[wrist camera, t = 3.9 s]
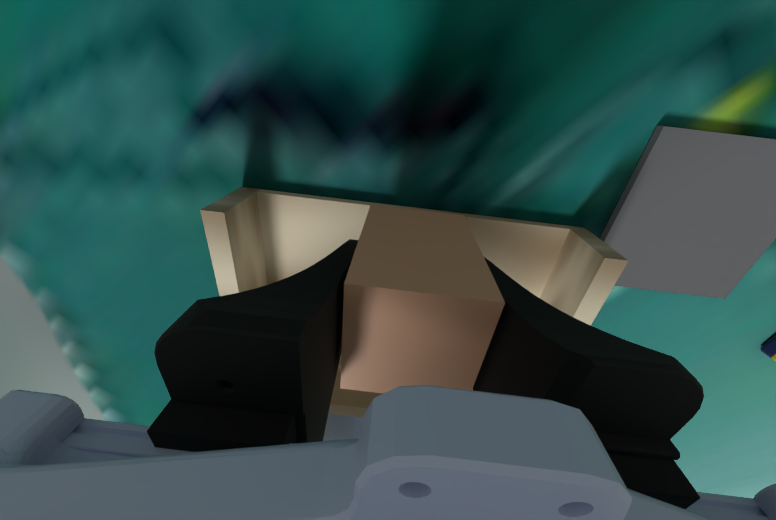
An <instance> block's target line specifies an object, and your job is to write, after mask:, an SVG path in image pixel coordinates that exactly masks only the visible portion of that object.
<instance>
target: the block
mask: <svg viewBox="0 0 776 520" xmlns="http://www.w3.org/2000/svg"><path fill="white" fill-rule="evenodd" d="M504 305H505V301H504V299H503V297H502V295H501V293H500V290H499V288H498V286H497V284H496V282H495V280H494V278H493V275H492V273H491V271H490V269H489V267H488V265H487V263H486V261H485V258H484V256H483V254H482V252H481V250H480V248H479V246H478V243H477V241H476V239H475V237H474V235H473V233H472V231H471V228H470V226H469V224H468V222H467V220H466V218H465V216H464V215H457V214H449V213H440V212H432V211H424V210H416V209H407V208H399V207H391V206H382V205H374V204H371V205H370V208H369V211H368V214H367V217H366V220H365V223H364V226H363V229H362V232H361V235H360V238H359V240H358V243H357V246H356V249H355V252H354V255H353V258H352V261H351V264H350V267H349V270H348V273H347V276H346V279H345V282H344V300H343V327H342V354H341V381H340V388H341V389H350V390H358V391H366V392H375V393H386V392H388V391H390V390H392V389H394V388H396V387H398V386H412V385H431V386H439V387H448V388H456V389H464V390H472V389H473V386H474V383H475V381H476V378H477V375H478V373H479V370H480V368H481V365H482V362H483V360H484V357H485V354H486V352H487V349H488V347H489V344H490V341H491V339H492V336H493V333H494V331H495V328H496V326H497V323H498V320H499V318H500V315H501V312H502V310H503V307H504Z"/></svg>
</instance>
